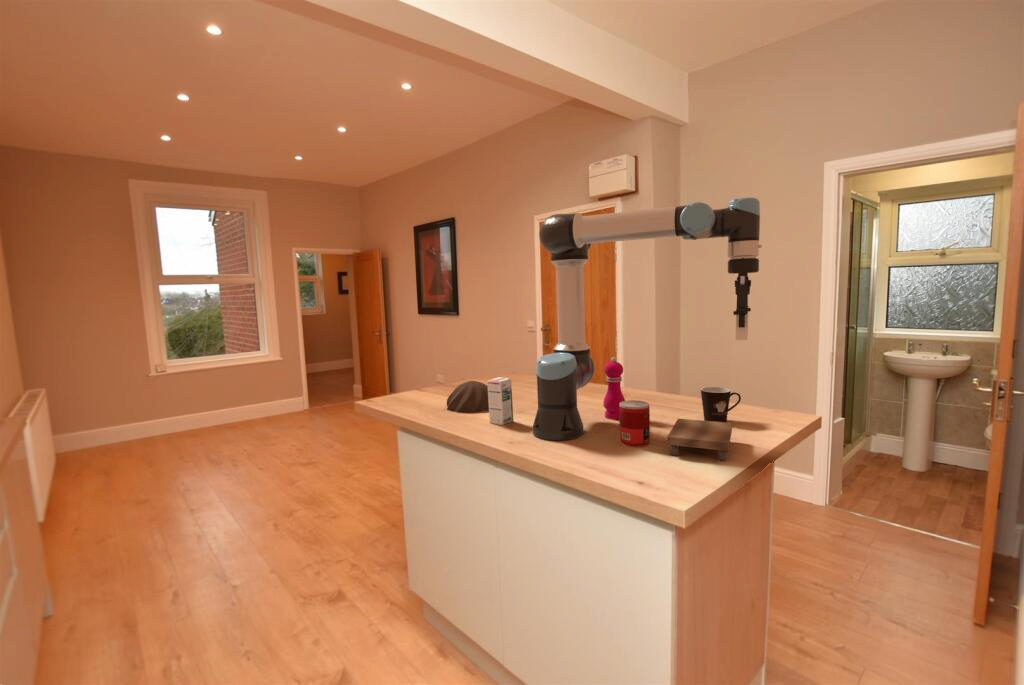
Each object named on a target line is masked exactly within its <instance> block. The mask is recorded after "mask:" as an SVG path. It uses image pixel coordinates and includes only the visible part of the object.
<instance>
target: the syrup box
mask: <svg viewBox="0 0 1024 685" xmlns="http://www.w3.org/2000/svg"><path fill="white" fill-rule="evenodd" d="M486 383H487V384H486V385H487V386H488V402H489V410H488V414H489V415H488V417H489V423H490V424H494V425H500V426H504V425H506V424H508V423H511V422H512V423H513V422H514V410H513V407H514V406H513V392H512V391H513V390H512V386H513V385H512V378H510V377H505V376H503V377H499V376H498V377H494V378H492V379H488V380H487V382H486Z"/></svg>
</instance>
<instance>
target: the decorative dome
mask: <svg viewBox="0 0 1024 685" xmlns="http://www.w3.org/2000/svg"><path fill="white" fill-rule="evenodd" d="M447 397H448V398H447V399H446V406H447V407H446V410H447V411H452V412H454V413H456V414H457V413H472V414H473V413H478V412H486V411H487V412H489V402H488V385H487V384H486V383H483V382H480V381H477V380H468V381H465V382H463V383H460V384H458V386H456V387H455V388H454V389H453V391H452V392H451V393H450V394H449V395H448V396H447Z"/></svg>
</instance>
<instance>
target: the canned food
mask: <svg viewBox="0 0 1024 685" xmlns="http://www.w3.org/2000/svg"><path fill="white" fill-rule="evenodd" d="M619 407H620V408H619V412H620V419H619V439H620V442H621V443H622V444H623V445H624V446H627V447H636V446H638V447H644V446H648V445H649V443H650V440H651V439H650V438H651V437H650V436H651V432H650V430H651V429H650V425H651V423H650V420H651V418H650V414H651V413H650V403H649V402H647V401H643V400H634V399H633V400H625V401H623V402H621V403H620V405H619Z"/></svg>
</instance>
